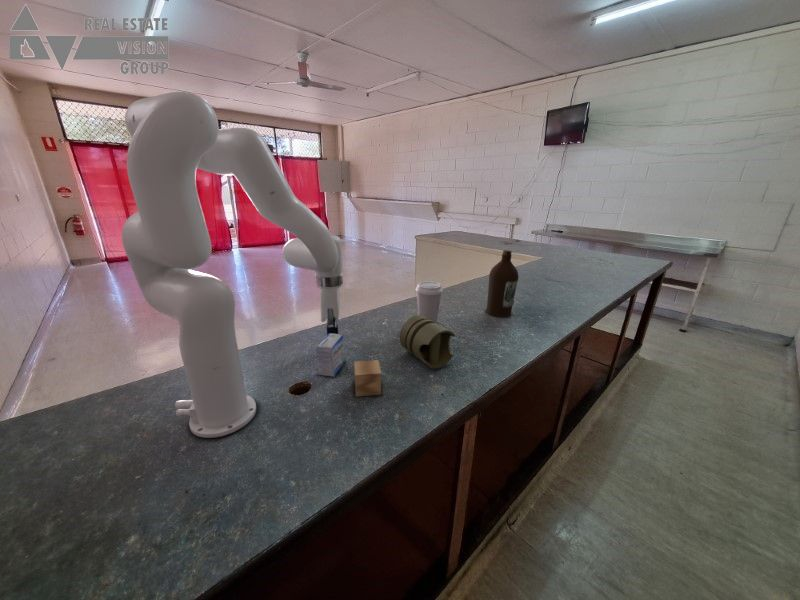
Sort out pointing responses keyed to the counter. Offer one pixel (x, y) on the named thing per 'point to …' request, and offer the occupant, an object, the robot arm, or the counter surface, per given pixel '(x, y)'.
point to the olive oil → (502, 287)
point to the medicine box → (330, 354)
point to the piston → (427, 341)
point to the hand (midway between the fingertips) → (333, 337)
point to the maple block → (367, 378)
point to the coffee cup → (429, 299)
